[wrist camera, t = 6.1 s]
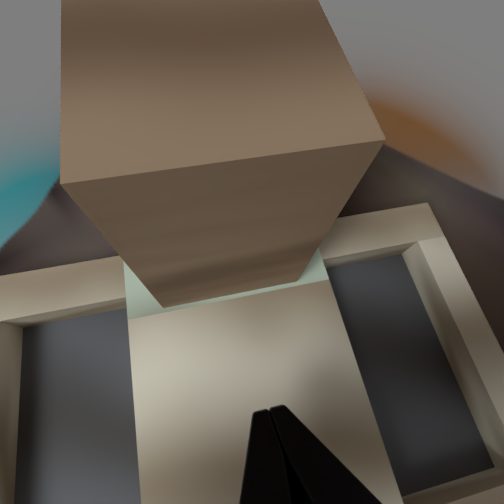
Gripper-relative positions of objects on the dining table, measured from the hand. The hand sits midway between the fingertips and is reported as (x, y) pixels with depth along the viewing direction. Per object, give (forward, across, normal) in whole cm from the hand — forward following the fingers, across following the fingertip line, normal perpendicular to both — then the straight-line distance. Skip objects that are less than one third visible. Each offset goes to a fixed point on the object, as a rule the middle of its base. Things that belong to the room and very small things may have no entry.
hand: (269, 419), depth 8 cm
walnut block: (+9, 0, -2) cm, 9 cm away
